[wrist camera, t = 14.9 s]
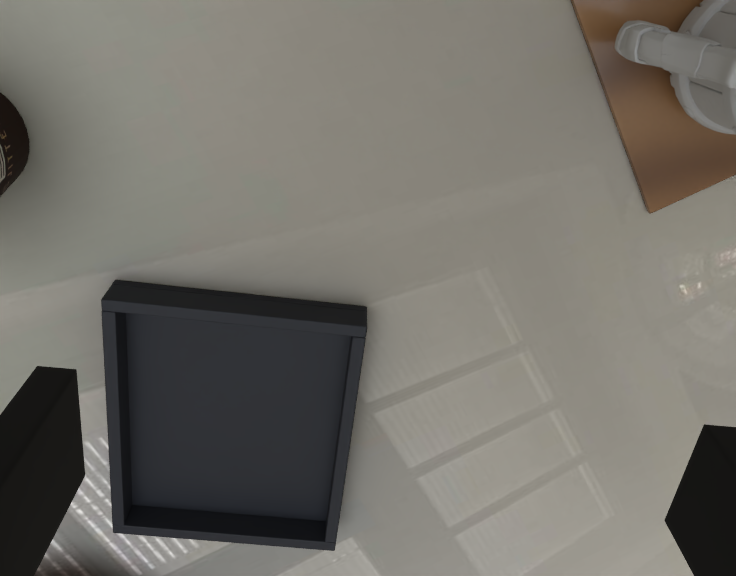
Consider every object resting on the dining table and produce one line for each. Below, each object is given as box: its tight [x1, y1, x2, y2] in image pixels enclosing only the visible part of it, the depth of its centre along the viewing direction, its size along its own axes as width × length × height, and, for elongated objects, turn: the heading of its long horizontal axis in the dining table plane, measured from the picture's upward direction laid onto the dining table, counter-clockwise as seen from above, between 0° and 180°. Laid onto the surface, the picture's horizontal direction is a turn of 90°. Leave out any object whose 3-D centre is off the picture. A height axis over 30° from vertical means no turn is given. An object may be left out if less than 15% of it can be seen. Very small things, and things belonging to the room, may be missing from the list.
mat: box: [571, 0, 736, 213], centre depth 36 cm, size 16×10×1 cm, turn 28°
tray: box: [101, 280, 367, 551], centre depth 46 cm, size 19×16×3 cm
